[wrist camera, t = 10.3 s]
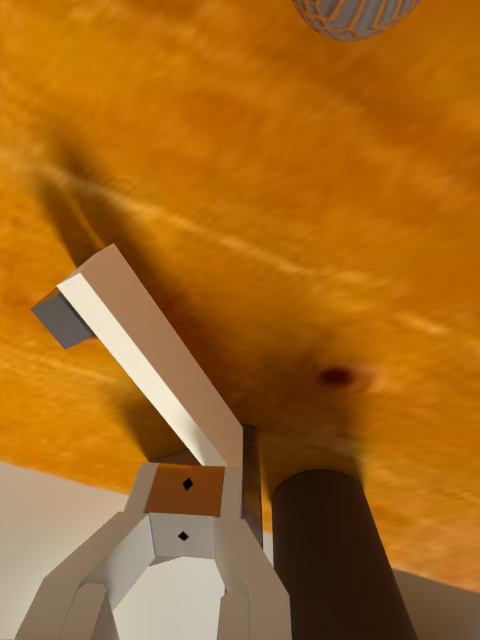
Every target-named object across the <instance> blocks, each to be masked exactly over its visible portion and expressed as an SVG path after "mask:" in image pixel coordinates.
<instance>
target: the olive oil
mask: <svg viewBox="0 0 480 640" xmlns="http://www.w3.org/2000/svg"><path fill="white" fill-rule="evenodd" d="M272 529H273V562H274V570H275V572H276V574H277V575H278V577H279V579H280V581H281V582H282V584H283V586H284V587H285V589H286V591H287V593H288V594H289V600H290V617H291V634H292V640H418V639H417V636H416V633H415V630H414V628H413V626H412V623H411V620H410V617H409V615H408V612H407V609H406V607H405V604H404V601H403V599H402V596H401V594H400V591H399V588H398V585H397V583H396V580H395V577H394V575H393V572H392V569H391V566H390V564H389V561H388V558H387V556H386V553H385V550H384V548H383V545H382V542H381V539H380V537H379V534H378V531H377V528H376V525H375V522H374V519H373V517H372V514H371V511H370V508H369V505H368V502H367V500H366V497H365V494H364V492H363V490H362V488H361V486H360V485H359V484H358V483H357V482H356V481H355V480H353V479H352V478H350V477H348V476H346V475H344V474H341V473H338V472H334V471H326V470H317V471H309V472H304V473H301V474H298V475H295V476H293V477H291V478H289V479H288V480H286V481H285V482H284V483H282V484H281V485H280V486H279V487H278V489H277V490H276V491H275V493H274V495H273V499H272Z"/></svg>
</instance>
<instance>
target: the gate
mask: <svg viewBox="0 0 480 640" xmlns="http://www.w3.org/2000/svg"><path fill="white" fill-rule="evenodd" d="M57 287H58V289H59V290H60V291H61V292H62V293H63V295H64V296H65V297H66V298H67V300H68V301H69V302H70V303H71V305H72V306H73V307H74V308H75V309H76V311H77V312H78V313H79V314H80V316H81V317H82V318H83V319H84V321H85V322H86V323H87V324H88V325H89V327H90V328H91V329H92V330H93V332H94V333H95V334H96V335H97V337H98V338H99V339H100V340H101V341H102V343H103V344H104V345H105V346H106V348H107V349H108V350H109V351H110V353H111V354H112V355H113V356H114V357H115V359H116V360H117V361H118V362H119V364H120V365H121V366H122V367H123V369H124V370H125V371H126V372H127V373H128V375H129V376H130V377H131V378H132V380H133V381H134V382H135V383H136V385H137V386H138V387H139V388H140V389H141V391H142V392H143V393H144V394H145V396H146V397H147V398H148V399H149V400H150V402H151V403H152V404H153V405H154V407H155V408H156V409H157V410H158V412H159V413H160V414H161V415H162V416H163V418H164V419H165V420H166V421H167V423H168V424H169V425H170V426H171V428H172V429H173V430H174V431H175V432H176V434H177V435H178V436H179V437H180V439H181V440H182V441H183V442H184V444H185V445H186V446H187V447H188V448H189V450H190V451H191V452H192V453H193V455H194V456H195V457H196V458H197V460H198V461H199V462H200V463H201V464H202V466H225V468H226V467H238V468H242V459H243V427H242V426H241V425H240V423H239V422H238V420H237V419H236V417H235V416H234V415H233V413H232V412H231V410H230V409H229V407H228V406H227V405H226V403H225V402H224V400H223V399H222V397H221V396H220V395H219V393H218V392H217V390H216V389H215V387H214V386H213V385H212V383H211V382H210V380H209V379H208V377H207V376H206V375H205V373H204V372H203V370H202V369H201V367H200V366H199V364H198V363H197V362H196V360H195V359H194V357H193V356H192V354H191V353H190V352H189V350H188V349H187V347H186V346H185V344H184V343H183V342H182V340H181V339H180V337H179V336H178V334H177V333H176V332H175V330H174V329H173V327H172V326H171V324H170V323H169V322H168V320H167V319H166V317H165V316H164V314H163V313H162V312H161V310H160V309H159V307H158V306H157V304H156V303H155V301H154V300H153V299H152V297H151V296H150V294H149V293H148V291H147V290H146V289H145V287H144V286H143V284H142V283H141V281H140V280H139V279H138V277H137V276H136V274H135V273H134V271H133V270H132V269H131V267H130V266H129V264H128V263H127V261H126V260H125V259H124V257H123V256H122V254H121V253H120V251H119V250H118V248H117V247H116V246H115V244H114V243H113V244H111V245H110V246H108V247H106V248H104V249H103V250H101V251H99V252H97V253H96V254H94V255H93V256H92V257H90V258H89V259H88V260H87V261H86V262H84V263H83V264H82V265H81V266H80V267H78V268H77V269H76V270H75V271H74V272H72V273H71V274H70V275H69V276H68V277H66V278H65V279H64V280H63V281H62V282H60V283H59V284H58V285H57Z"/></svg>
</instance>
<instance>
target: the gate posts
mask: <svg viewBox="0 0 480 640" xmlns="http://www.w3.org/2000/svg"><path fill="white" fill-rule="evenodd" d="M31 311H32V312H33V313H34V314H35V315H36V316H37V318H38V319H39V320H40V321H41V322H42V323H43V325H44V326H45V327H46V328H47V329H48V330H49V332H50V333H51V334H52V335H53V336H54V337H55V338H56V340H57V341H58V342H59V343H60V344H61V345H62V347H63V348H64V349H65V350H66V349H68V348H70V347H72V346H74V345H76V344H78V343H80V342H82V341H84V340H86V339H88V338H90V337H92V336H93V334H94V332H93V330H92V329H91V328H90V327H89V325H88V324H87V323H86V322H85V321H84V319H83V318H82V317H81V316H80V314H79V313H78V312H77V311H76V309H75V308H74V307H73V306H72V305H71V303H70V302H69V301H68V300H67V298H66V297H65V296H64V295H63V293H62V292H61V291H60V290H59V289H58V287H56V288H55V289H54V290H53V291H51V292H50V293H49V294H48V295H47V296H46V297H44V298H43V299H42V300H41V301H40V302H38V303H37V304H36V305H35V306H34V307H33V308H31ZM241 426H242V427H243V459H242V469H243V472H242V507H241V519H245V520H246V522H247V524H248V526H249V527H250V529H251V531H252V532H253V534H254V536H255V538H256V539H257V541H258V543H259V544H260V546H261V548H262V550H263V531H262V504H261V478H260V451H259V432H258V430H257V428H256V427H254V426H253V425H250V424H241ZM151 463H165V464H177V465H189V466H193V465H200V466H202V464H201V463H200V462H199V461H198V460H197V458H196V457H195V456H194V455H193V453H192V452H191V451H190V450H189V448H188V449H185V450H182V451H180V452H177V453H174V454H172V455H169V456H166V457H164V458H161V459H159V460H156V461H153V462H151ZM178 557H182V556H157V555H155V558H154V560H153V561H152V562H151V563H150V565H149V566H152V565H155V564H159V563H162V562H165V561H169V560H172V559H175V558H178ZM149 566H148V567H149ZM226 593H228V592H227V590H226V587H225V594H226Z"/></svg>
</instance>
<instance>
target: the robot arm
mask: <svg viewBox="0 0 480 640" xmlns="http://www.w3.org/2000/svg"><path fill="white" fill-rule="evenodd" d="M242 472H243V469H242V468H238V467H226V468H225V466H200V465H193V466H189V465H177V464H165V463H150V462H143V463H142V465H141V466H140V468H139V471H138V473H137V476H136V479H135V482H134V484H133V487H132V490H131V493H130V495H129V498H128V501H127V504H126V507H125V509H124V512H118V513H116V514H115V515H114V516H113V517H112V518H111V519H110V520H109V521H108V522H106V523H105V524H104V525H103V526H102V527H101V528H100V529H98V530H97V531H96V532H95V533H94V534H93V535H92V536H91V537H90V538H89V539H87V540H86V541H85V542H84V543H83V544H82V545H81V546H79V547H78V548H77V549H76V550H75V551H74V552H73V553H72V554H71V555H69V556H68V557H67V558H66V559H65V560H64V561H63V562H62V563H60V564H59V565H58V566H57V567H56V568H55V569H54V570H53V571H51V572H50V573H49V574H48V575H47V576H46V577H45V578H44V579H43V581H42V583H41V585H40V587H39V590H38V591H37V593H36V596H35V598H34V600H33V602H32V604H31V606H30V608H29V610H28V612H27V614H26V616H25V618H24V620H23V622H22V624H21V626H20V628H19V630H18V632H17V634H16V637H15V638H14V640H119V636H118V632H117V629H116V625H115V621H114V617H113V613H112V611H113V610H114V609H115V608H116V606H117V605H118V604H119V603H120V601H121V600H122V599H123V597H124V596H125V595H126V594H127V592H128V591H129V590H130V589H131V587H132V586H133V585H134V584H135V582H136V581H137V580H138V579H139V577H140V576H141V575H142V573H143V572H144V571H145V570H146V568H147V567H148V566H149V565H150V563H151V562H152V561H153V560H154V558H155V555H157V556H186V557H196V558H206V559H215V563H216V565H217V568H218V570H219V573H220V575H221V577H222V580H223V582H224V585H225V587H226V590H227V592H228V593H226V594H225V595H224V596H223V597H222V598H221V604H220V613H219V623H218V633H217V640H292V634H291V617H290V600H289V594H288V593H287V591H286V589H285V587H284V586H283V584H282V582H281V581H280V579H279V577H278V575H277V574H276V572H275V570H274V569H273V567H272V565H271V563H270V562H269V560H268V558H267V557H266V555H265V553H264V552H263V550H262V548H261V546H260V544H259V543H258V541H257V539H256V538H255V536H254V534H253V532H252V531H251V529H250V527H249V526H248V524H247V522H246V520H245V519H241V507H242ZM0 640H11V639H0Z"/></svg>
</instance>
